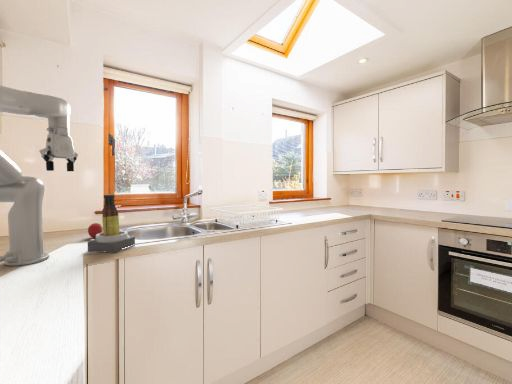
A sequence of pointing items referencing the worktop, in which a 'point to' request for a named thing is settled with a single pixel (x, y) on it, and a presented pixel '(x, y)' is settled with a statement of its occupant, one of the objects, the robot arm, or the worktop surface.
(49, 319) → the worktop surface
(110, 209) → the sauce bottle
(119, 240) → the mount
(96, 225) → the tomato
